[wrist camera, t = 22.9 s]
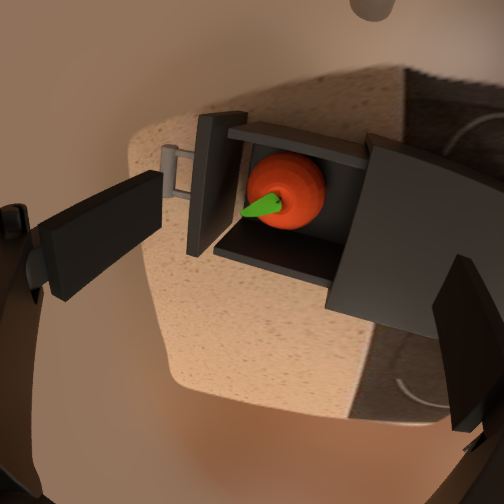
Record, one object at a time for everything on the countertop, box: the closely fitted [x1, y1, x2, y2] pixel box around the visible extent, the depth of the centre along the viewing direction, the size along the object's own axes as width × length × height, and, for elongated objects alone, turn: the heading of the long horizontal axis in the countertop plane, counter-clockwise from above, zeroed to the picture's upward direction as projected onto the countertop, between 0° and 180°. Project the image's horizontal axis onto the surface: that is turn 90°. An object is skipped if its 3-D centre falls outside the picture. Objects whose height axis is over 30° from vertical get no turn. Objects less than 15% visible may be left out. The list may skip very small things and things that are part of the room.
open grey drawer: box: [160, 111, 370, 289], centre depth 29 cm, size 22×12×9 cm, turn 81°
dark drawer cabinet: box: [325, 132, 504, 339], centre depth 26 cm, size 18×14×11 cm
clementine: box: [240, 151, 326, 230], centre depth 28 cm, size 8×7×7 cm
